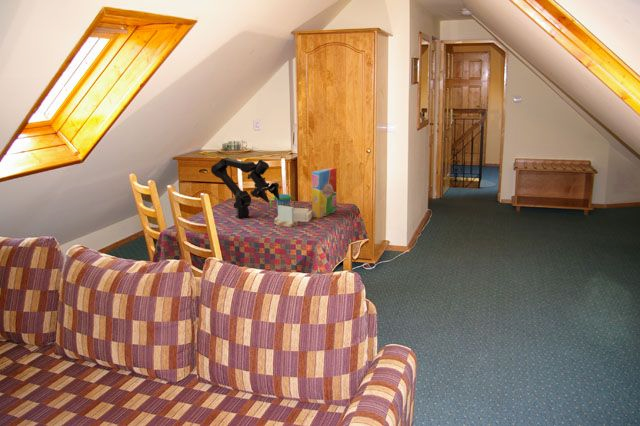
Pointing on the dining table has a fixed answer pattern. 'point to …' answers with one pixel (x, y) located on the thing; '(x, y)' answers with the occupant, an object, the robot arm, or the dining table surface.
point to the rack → (301, 215)
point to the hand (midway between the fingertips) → (273, 200)
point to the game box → (324, 192)
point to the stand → (286, 223)
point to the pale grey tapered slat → (286, 214)
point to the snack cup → (282, 200)
